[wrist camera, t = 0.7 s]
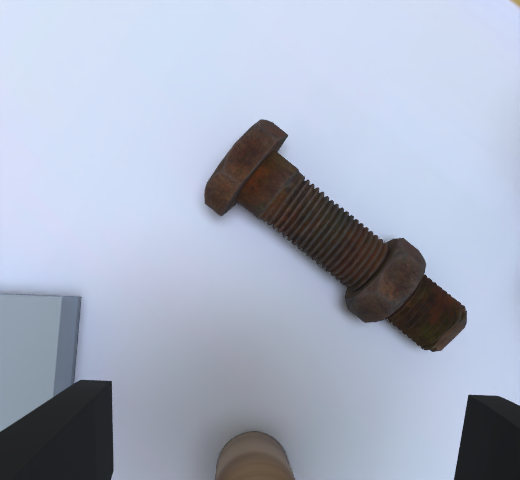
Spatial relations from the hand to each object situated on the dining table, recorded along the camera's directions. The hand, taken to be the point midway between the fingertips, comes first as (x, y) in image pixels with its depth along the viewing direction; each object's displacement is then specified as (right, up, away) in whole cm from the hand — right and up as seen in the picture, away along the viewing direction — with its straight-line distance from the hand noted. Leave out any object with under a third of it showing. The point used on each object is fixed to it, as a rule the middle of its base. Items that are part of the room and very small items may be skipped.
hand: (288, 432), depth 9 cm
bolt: (+4, +3, +18) cm, 19 cm away
